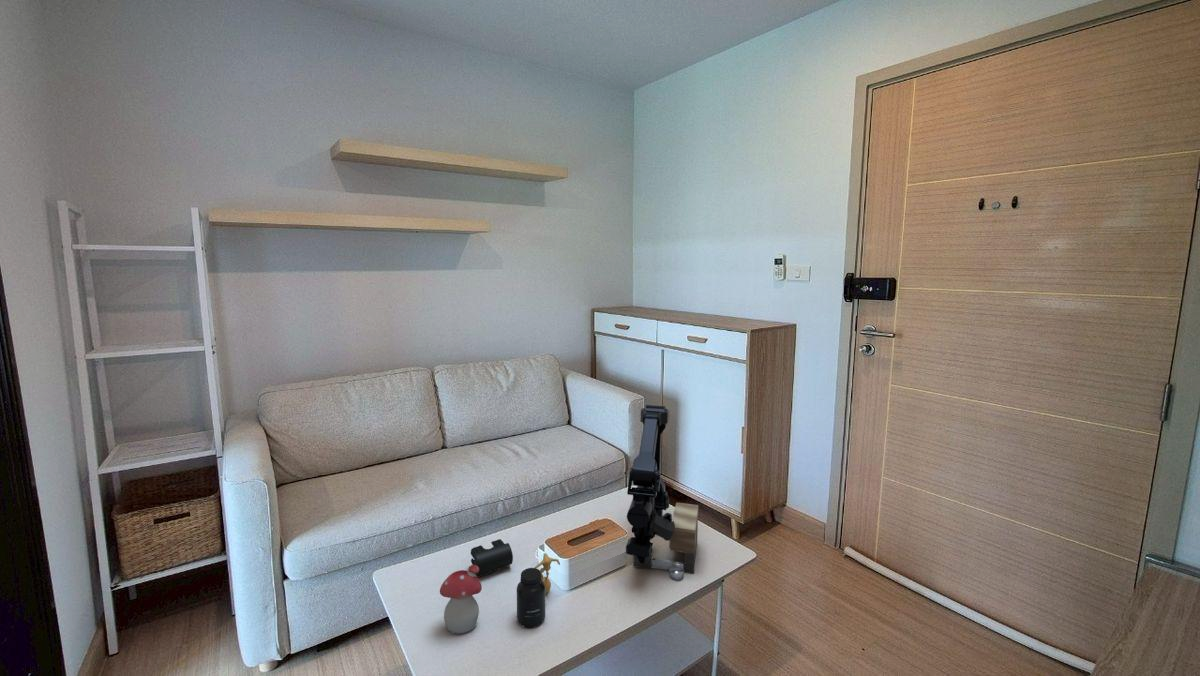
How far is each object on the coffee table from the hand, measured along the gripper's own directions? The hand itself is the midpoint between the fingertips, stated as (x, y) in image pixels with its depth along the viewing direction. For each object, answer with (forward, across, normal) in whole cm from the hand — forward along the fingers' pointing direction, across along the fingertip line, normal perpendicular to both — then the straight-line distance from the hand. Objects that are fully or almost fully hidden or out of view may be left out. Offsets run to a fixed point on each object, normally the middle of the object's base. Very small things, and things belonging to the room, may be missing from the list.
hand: (642, 560), depth 140 cm
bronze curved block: (+2, +8, -11) cm, 13 cm away
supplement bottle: (+2, -26, +22) cm, 35 cm away
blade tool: (+2, 0, -4) cm, 5 cm away
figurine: (+2, -17, +22) cm, 29 cm away
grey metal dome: (+2, -2, -10) cm, 10 cm away
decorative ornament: (+2, -32, +38) cm, 50 cm away
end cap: (+2, -11, +40) cm, 42 cm away
